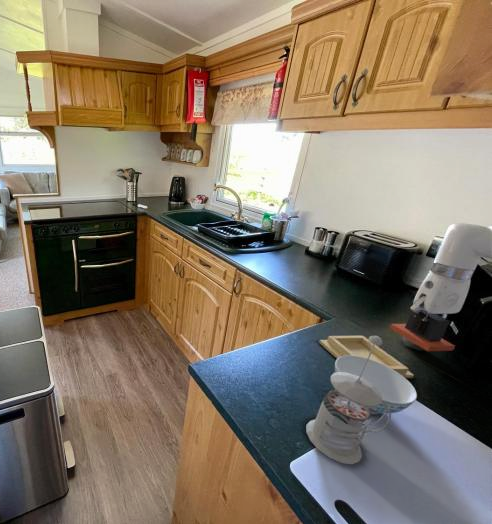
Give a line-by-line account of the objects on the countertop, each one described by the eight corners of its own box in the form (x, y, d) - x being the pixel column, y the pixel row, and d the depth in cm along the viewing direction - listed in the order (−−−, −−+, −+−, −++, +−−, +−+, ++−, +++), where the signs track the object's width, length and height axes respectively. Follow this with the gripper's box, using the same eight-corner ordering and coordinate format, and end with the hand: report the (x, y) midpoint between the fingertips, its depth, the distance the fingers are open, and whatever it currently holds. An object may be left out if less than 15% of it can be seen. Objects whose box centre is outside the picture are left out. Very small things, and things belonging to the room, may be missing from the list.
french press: (301, 413, 64) (336, 316, 55) (360, 429, 61) (407, 330, 52) (312, 454, 55) (355, 346, 46) (382, 475, 52) (442, 364, 44)
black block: (412, 327, 88) (422, 304, 85) (453, 350, 78) (466, 325, 75) (389, 328, 87) (399, 304, 84) (427, 351, 77) (440, 325, 74)
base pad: (363, 341, 93) (366, 334, 92) (412, 378, 78) (417, 369, 77) (318, 342, 91) (321, 335, 90) (360, 379, 76) (364, 371, 75)
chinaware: (325, 371, 78) (334, 347, 75) (395, 395, 71) (407, 370, 69) (326, 409, 66) (337, 383, 63) (410, 443, 59) (426, 415, 56)
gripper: (439, 276, 71) (410, 340, 77) (495, 277, 73) (463, 338, 79) (409, 265, 78) (385, 324, 84) (461, 266, 80) (434, 323, 86)
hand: (423, 330), depth 81 cm, fingers closed on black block, 3 cm apart
